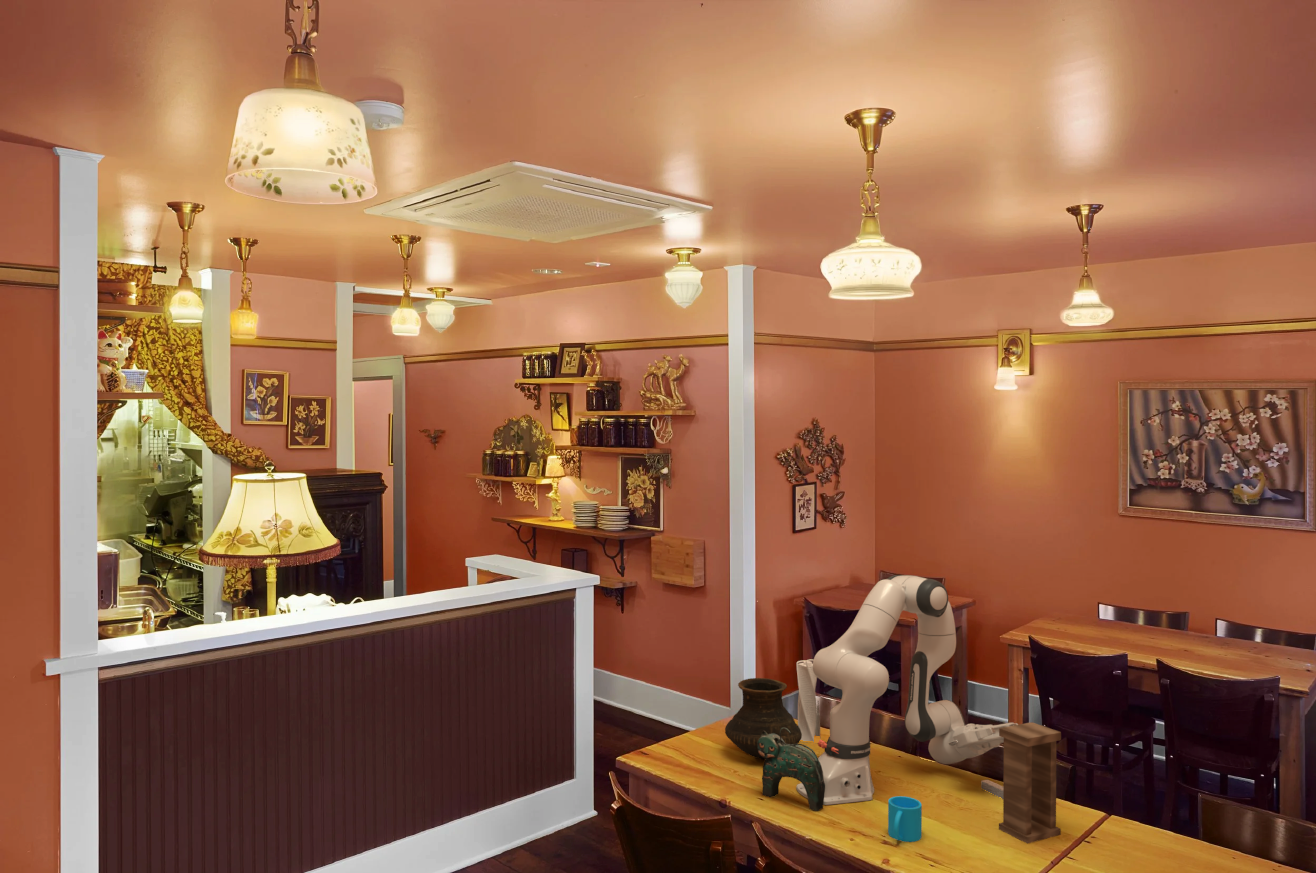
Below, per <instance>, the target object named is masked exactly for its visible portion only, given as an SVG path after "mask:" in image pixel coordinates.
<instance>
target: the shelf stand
mask: <svg viewBox="0 0 1316 873" xmlns="http://www.w3.org/2000/svg"><path fill="white" fill-rule="evenodd" d="M999 736H1001V737H1003V738H1004V742H1003V785H1002V786H1003V799H1002V800H1003V802H1002V803H1003V806H1002V808H1003V809H1002V812H1003V813H1002V814H1003V815H1002V817H1003V819H1002V820H1003V822H1000V823H998V830H999V831H1002V832H1003V833H1006V834H1008V835H1010V836H1011V837H1014V838H1015V839H1018V840H1020V841H1021V842H1023V843H1025V844H1031V843H1035V842H1038V841H1042V840H1045V839H1049V838H1053V837H1057V836H1060V835H1061V834H1062V833H1061V832H1062V831H1061V830H1062V829H1061V827H1058V826H1057V741H1062V731H1059V730H1056V729H1052V728H1050V727H1048V726H1044V725H1042V724H1038V723H1036V722H1026V723H1020V724H1018V725H1014V726H1009V727H1003V728H999Z"/></svg>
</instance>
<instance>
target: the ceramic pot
mask: <svg viewBox="0 0 1316 873" xmlns="http://www.w3.org/2000/svg"><path fill="white" fill-rule="evenodd" d="M737 686H738V688H739V689H740V690H741V691H742V706H740V709H739V710H738V711H737V712H736V713H735V714H734V715H733V716H732V717H731V719H730V720H729V721H728V722H727V723H726V725H725V727H724V733H725V736H726V737H727V738H728V739H729V740H730V741H731V742H732V743H733V744H734V745H735V746H736V747H737V748H738V749H740V750H741V751H742V752H743V753H745V754H747V755H749V756H750V757H752V758H753V757H754V758H756V759H761V760H765V758H764V757H762V756H761V755H760V754H759V753H758V749H757V742H758V740H759V738H760V737H761V735H762V732H763V731H765V732H766V733H767V734H772V733H774V734H777V735H779V736H780V734H781V738H782V739H783V741H784V742H785V743H786V744H800V742H799V741H800V740H801V737H802V733H801V730H800V728H799V726H798V723H796V721H795V719H794V717H793V715H792V713H790V712H789V711H788V710H787V709H786V707H785V706H784V702H783V692H784V690H787V688H788V686H787V684H786V683H785V682H782V681H779V680H776V679H771V678H766V677H765V678H763V677H753V678H746V679H742V680H740V682H738V683H737ZM783 727H785V728H787V729H788V730H789V731H790V732H791V734H790V733H789V732H788V731H787V730H786V729H782V730H781V733H780V729H781V728H783Z"/></svg>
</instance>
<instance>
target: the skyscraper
mask: <svg viewBox="0 0 1316 873" xmlns="http://www.w3.org/2000/svg"><path fill="white" fill-rule="evenodd" d="M813 660H814V658H813V659H810V658H809V659H807V660H802V659H801V660H798V661H797V662H796V673H797V686H798V698H797V725H798V726H799V728H800V730H801V733H802V737H801V740H803V741H813V742H814V736H815V735H816V736H820V737H821V724H820V723H821V714H820V705H819V703H820V702H819V700H817V698H816V697H817V696H816V686H817V679H818V677H816V675H815V674H814V671H813Z"/></svg>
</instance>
